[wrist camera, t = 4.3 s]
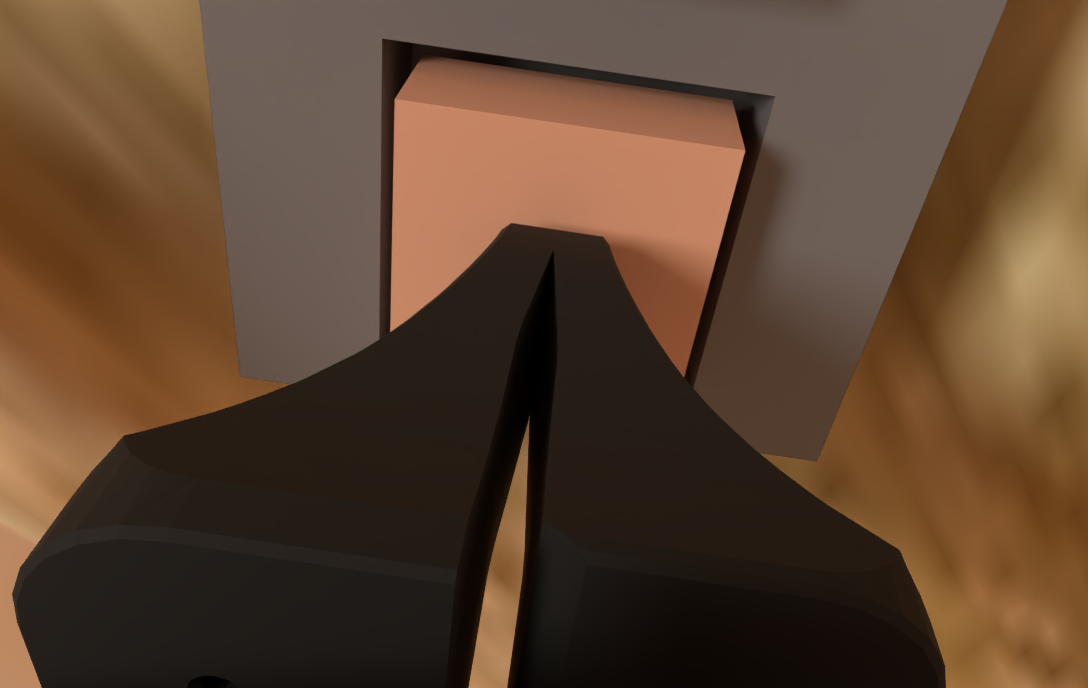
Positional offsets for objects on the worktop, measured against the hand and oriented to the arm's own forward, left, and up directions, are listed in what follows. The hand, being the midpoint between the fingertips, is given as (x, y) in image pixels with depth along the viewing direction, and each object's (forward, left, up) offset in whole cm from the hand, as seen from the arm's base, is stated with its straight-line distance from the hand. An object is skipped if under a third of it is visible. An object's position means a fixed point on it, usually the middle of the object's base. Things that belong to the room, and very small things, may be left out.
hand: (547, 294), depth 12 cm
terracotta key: (0, 0, -2) cm, 2 cm away
